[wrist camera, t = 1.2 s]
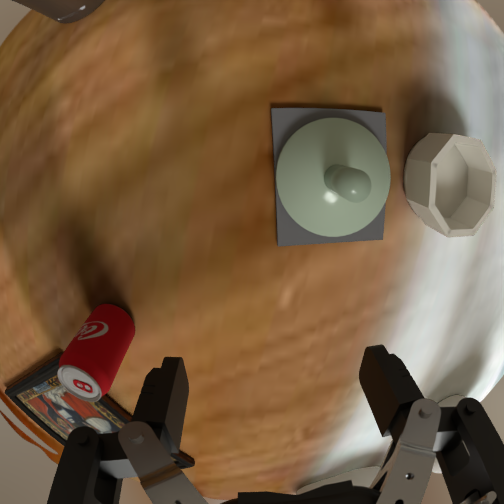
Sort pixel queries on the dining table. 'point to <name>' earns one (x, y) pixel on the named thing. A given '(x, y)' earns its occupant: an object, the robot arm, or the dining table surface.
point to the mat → (282, 129)
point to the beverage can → (96, 353)
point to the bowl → (450, 183)
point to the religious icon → (69, 407)
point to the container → (346, 479)
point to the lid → (332, 177)
